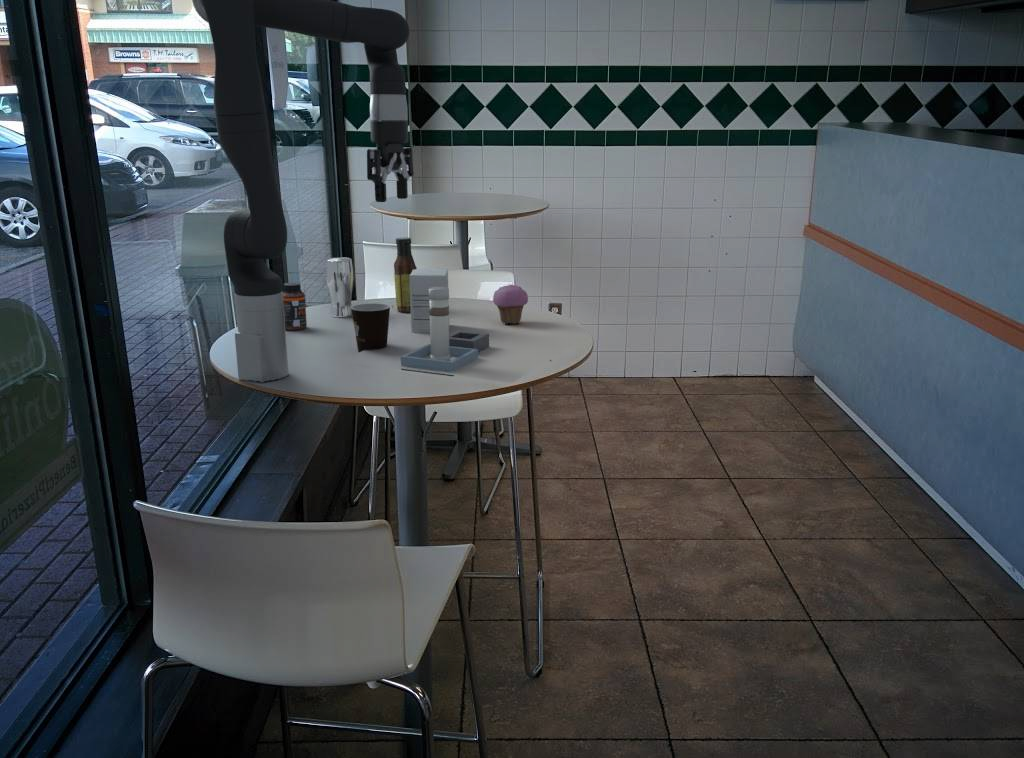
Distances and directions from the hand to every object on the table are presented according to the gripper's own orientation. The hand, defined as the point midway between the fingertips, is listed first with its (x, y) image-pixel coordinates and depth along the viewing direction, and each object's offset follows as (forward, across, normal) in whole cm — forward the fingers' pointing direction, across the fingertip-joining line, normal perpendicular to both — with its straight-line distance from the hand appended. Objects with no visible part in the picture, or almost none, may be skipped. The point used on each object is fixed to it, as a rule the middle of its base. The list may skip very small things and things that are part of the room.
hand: (391, 200), depth 184 cm
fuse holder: (+34, -11, +11) cm, 37 cm away
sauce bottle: (+34, -46, -24) cm, 62 cm away
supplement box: (+34, -26, -6) cm, 43 cm away
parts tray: (+34, +1, +11) cm, 36 cm away
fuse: (+34, +1, +11) cm, 35 cm away
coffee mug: (+34, -6, -10) cm, 36 cm away
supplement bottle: (+34, -16, -39) cm, 54 cm away
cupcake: (+34, -43, +8) cm, 56 cm away
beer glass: (+34, -34, -37) cm, 61 cm away
